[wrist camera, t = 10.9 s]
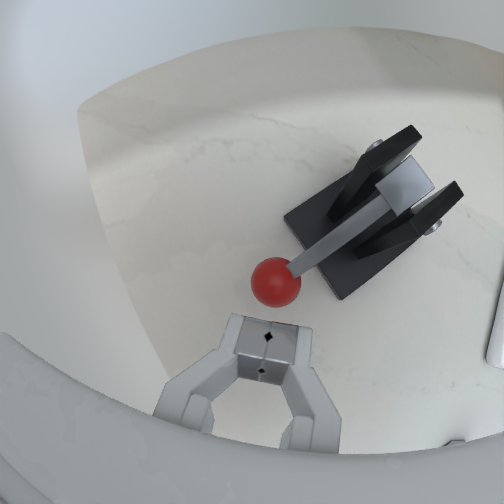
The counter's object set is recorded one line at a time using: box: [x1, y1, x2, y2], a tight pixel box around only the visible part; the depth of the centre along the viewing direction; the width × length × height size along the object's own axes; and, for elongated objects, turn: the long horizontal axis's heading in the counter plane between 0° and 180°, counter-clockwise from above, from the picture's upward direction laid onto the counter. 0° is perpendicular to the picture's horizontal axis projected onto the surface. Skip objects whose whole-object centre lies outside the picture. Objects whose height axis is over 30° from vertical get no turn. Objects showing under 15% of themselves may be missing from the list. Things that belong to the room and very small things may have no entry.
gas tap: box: [284, 125, 464, 300], centre depth 18 cm, size 11×9×13 cm
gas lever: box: [251, 155, 435, 308], centre depth 17 cm, size 14×4×4 cm
